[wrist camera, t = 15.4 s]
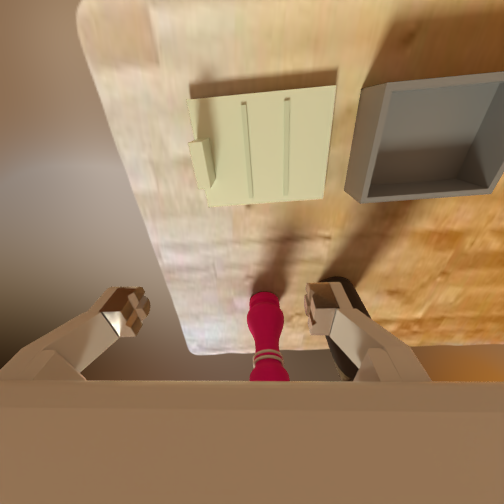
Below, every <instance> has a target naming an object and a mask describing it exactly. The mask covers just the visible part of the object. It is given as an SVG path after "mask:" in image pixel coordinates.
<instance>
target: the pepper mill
mask: <svg viewBox="0 0 504 504" xmlns="http://www.w3.org/2000/svg"><path fill="white" fill-rule="evenodd" d="M247 324H248V327H249V330H250V332H251V334H252V335H253V337H254V340H255V346H256V353H255V354H254V356H253V367H254V369H253V371H252V372H251V375H250V381H290V380H289V375H288V373H287V371H286V370H285V369H284V368H283V366H284V361H283V355H282V354H281V353H280V351H279V338H280V335H281V332H282V329H283V324H284V316H283V312H282V311H281V309H280V306H279V300H278V298H277V296H276V295H274V294H273V293H270V292H259V293H257V294H255V295H253V296H252V297H251V299H250V310H249V312H248V314H247Z"/></svg>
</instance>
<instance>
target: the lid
mask: <svg viewBox="0 0 504 504" xmlns="http://www.w3.org/2000/svg"><path fill="white" fill-rule="evenodd" d="M336 86H337V85H332V86H322V87H312V88H301V89H291V90H281V91H271V92H260V93H250V94H240V95H230V96H219V97H209V98H199V99H189V100H186V101H187V106H188V111H189V116H190V121H191V125H192V130H193V135H194V141H191V142H189V143H188V145H189V150H190V154H191V159H192V163H193V168H194V172H195V177H196V181H197V186H198V189H205V193H206V198H207V203H208V207H220V206H233V205H246V204H260V203H273V202H287V201H300V200H313V199H323V196H324V187H325V179H326V170H327V162H328V153H329V145H330V136H331V128H332V119H333V111H334V102H335V94H336Z"/></svg>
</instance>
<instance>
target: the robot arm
mask: <svg viewBox="0 0 504 504" xmlns="http://www.w3.org/2000/svg"><path fill="white" fill-rule="evenodd" d="M306 292H307V294H306V295H305V299H304V306H305V312H306V315H307V316H308V317H309V319H308V325H309V329H310V333H311V335H330V337H331V338H332V340H333V341H334V342H335V343H336V344H337V345H338V346H339V347H340V348H341V350H342V351H343V352H344V353H345V354H346V355H347V356H348V357H349V358H350V359H351V361H352V362H353V363H354V364H355V365H356V366H357V367H358V368H359V370H358V372H357V374H356V376H355V378H354V380H353V381H336V382H335V381H86V379H85V378H84V377H83V376H82V375H81V374H80V372H81V371H82V370H83V369H85V368H86V367H87V366H88V365H89V364H90V363H91V362H92V361H93V360H95V359H96V358H97V357H98V356H99V355H100V354H101V353H103V352H104V351H105V350H106V349H107V348H108V347H109V346H111V345H112V344H113V343H114V342H115V341H116V340H117V339H118V338H119V337H135V336H137V334H138V332H139V330H140V328H141V327H142V320H143V319H145V318H146V317H147V315H148V314H149V311H150V301H149V299H148V298H147V297H145V296H144V293H145V291H144V289H143V288H142V287H110V288H108V289H107V290H106V291H105V292H104V293H103V294H102V296H101V297H100V298H99V299H98V300H97V301H96V302H95V304H94V305H93V306H92V307H91V308H90V310H88V312H87V313H82V314H80V315H79V316H77V317H75V318H74V319H72V320H70V321H69V322H67V323H65V324H63V325H62V326H60V327H58V328H56V329H55V330H53V331H51V332H50V333H48V334H46V335H44V336H43V337H41V338H39V339H38V340H36V341H34V342H32V343H31V344H29V345H27V346H26V347H24V348H22V349H21V350H20V351H19V352H18V353H17V354H16V355H15V356H14V357H13V358H12V359H11V360H10V361H9V362H8V363H7V364H6V365H5V366H4V367H3V368H2V369H1V370H0V504H504V382H432V381H431V379H430V378H429V376H428V374H427V373H426V371H425V370H424V368H423V367H422V365H421V363H420V362H419V360H418V359H417V357H416V356H415V354H414V353H413V351H412V349H411V348H410V347H409V346H408V345H406V344H405V343H404V342H402V341H401V340H399V339H398V338H397V337H395V336H394V335H392V334H391V333H390V332H388V331H387V330H385V329H384V328H383V327H381V326H380V325H379V324H377V323H376V322H374V321H373V320H372V319H370V318H369V317H367V316H366V315H365V314H363V313H362V312H361V311H359V310H358V309H353V307H352V305H351V303H350V301H349V299H348V297H347V295H346V293H345V291H344V289H343V287H342V285H341V283H340V282H324V283H307V284H306Z"/></svg>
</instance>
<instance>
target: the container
mask: <svg viewBox="0 0 504 504" xmlns="http://www.w3.org/2000/svg"><path fill="white" fill-rule="evenodd" d="M324 282H340V283H341V285H342V287H343V289H344V291H345V293H346V295H347V297H348V299H349V301H350V303H351V305H352V307H353V309H358V310H359V311H361V312H362V313H363V314H365V315H366V316H367V317H369V318H370V319H371V317H370V315H369V314H368V312H367V310H366V308H365V306H364V305H363V303H362V301H361V299H360V297H359V295H358V294H357V292H356V290H355V288H354V287H353V285H352V283H351V282H350V281H349V280H348V279H346V278H343V277H332V278H328V279H325V280H323V281H322V282H320V283H324ZM325 336H326V339H327V342H328V345H329V348H330V351H331V353H332V356H333V359H334V362H335V365H336V368H337V371H338V374H339V377H340V380H341V381H353V380H354V378H355V376H356V374H357V372H358V370H359V368H358V367H357V366H356V365H355V364H354V363H353V362H352V361H351V359H350V358H349V357H348V356H347V355H346V354H345V353H344V352H343V351H342V350H341V348H340V347H339V346H338V345H337V344H336V343H335V342H334V341H333V340H332V338H331V337H330V335H325Z"/></svg>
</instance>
